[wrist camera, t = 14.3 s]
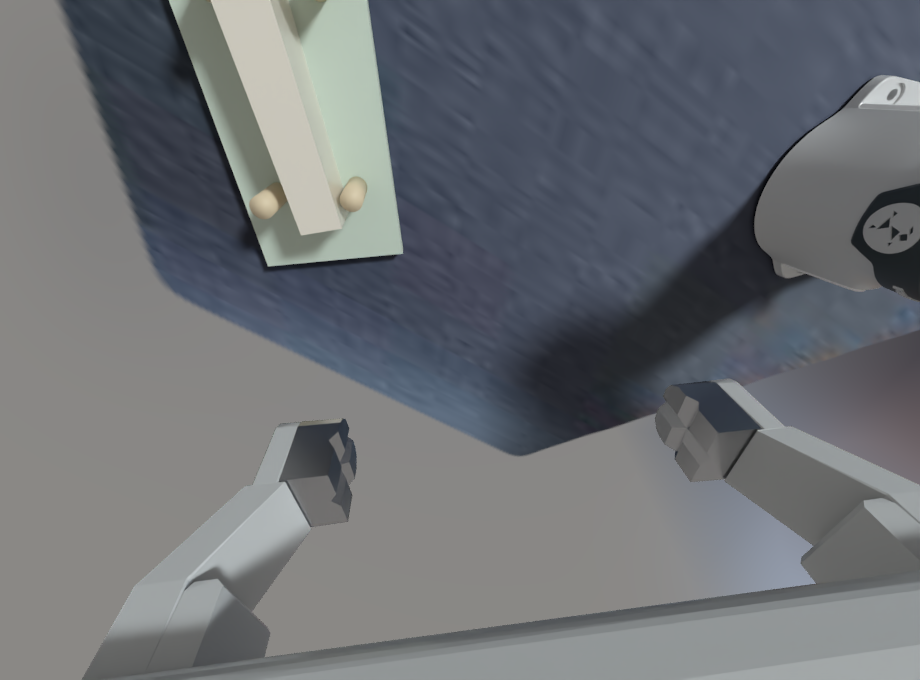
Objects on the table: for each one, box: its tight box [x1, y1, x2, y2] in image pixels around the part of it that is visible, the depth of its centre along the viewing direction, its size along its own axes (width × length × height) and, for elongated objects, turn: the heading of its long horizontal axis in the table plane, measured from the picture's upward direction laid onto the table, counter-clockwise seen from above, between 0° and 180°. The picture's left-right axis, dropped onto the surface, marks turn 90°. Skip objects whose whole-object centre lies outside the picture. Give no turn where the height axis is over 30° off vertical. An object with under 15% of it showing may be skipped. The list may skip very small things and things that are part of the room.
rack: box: [169, 0, 403, 266], centre depth 25 cm, size 24×12×6 cm, turn 3°
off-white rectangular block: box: [211, 0, 349, 235], centre depth 24 cm, size 16×3×5 cm, turn 7°
